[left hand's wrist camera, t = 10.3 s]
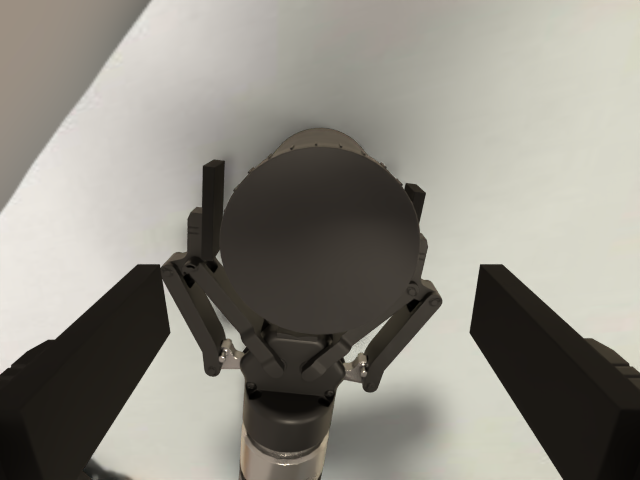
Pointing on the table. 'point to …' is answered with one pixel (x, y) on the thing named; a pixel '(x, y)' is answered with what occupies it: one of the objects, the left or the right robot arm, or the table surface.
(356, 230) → the lid
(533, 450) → the table surface
